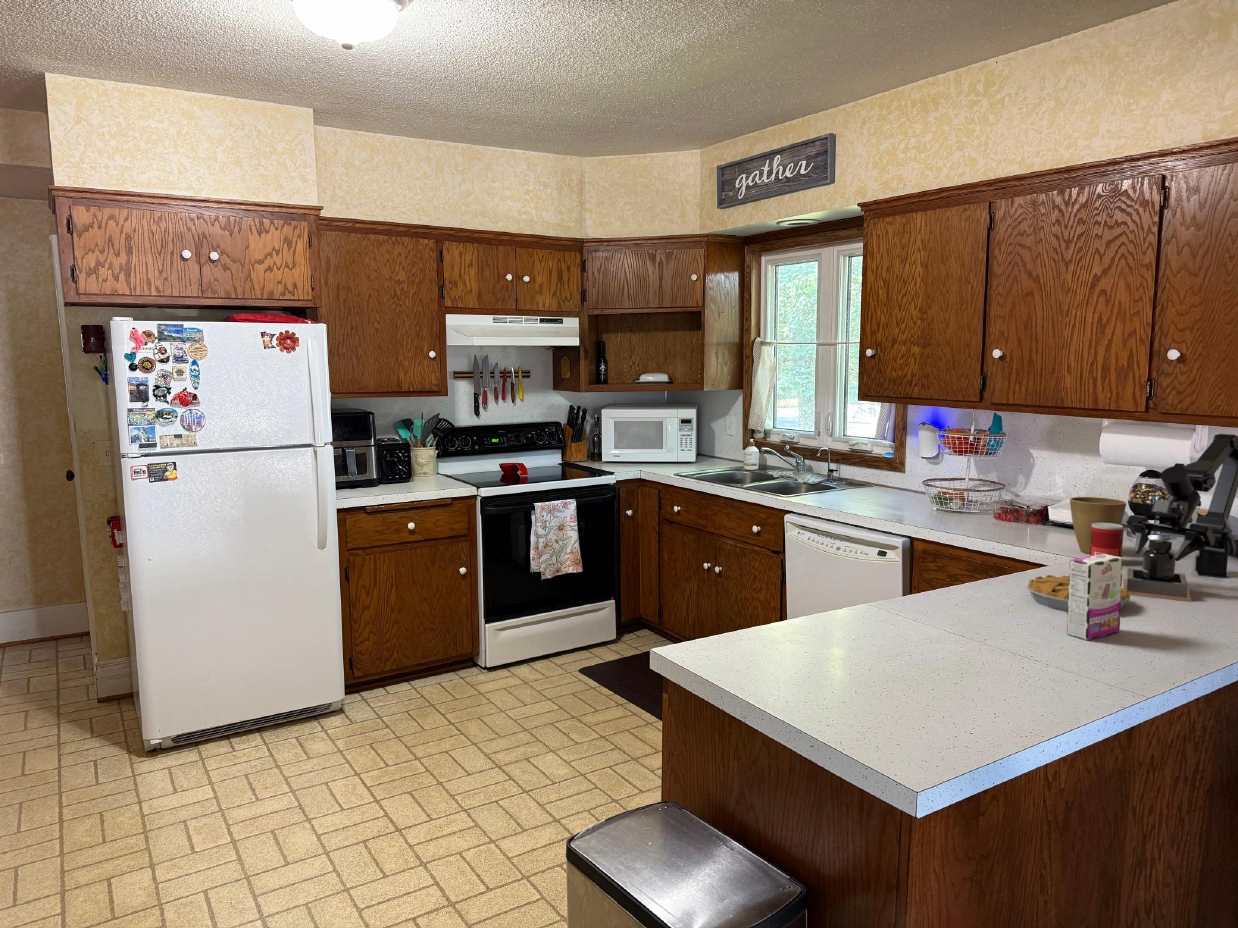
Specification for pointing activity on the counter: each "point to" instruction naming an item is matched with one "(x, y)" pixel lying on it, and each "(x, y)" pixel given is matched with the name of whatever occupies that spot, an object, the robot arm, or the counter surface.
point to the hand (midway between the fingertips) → (1155, 556)
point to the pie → (1058, 592)
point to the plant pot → (1093, 516)
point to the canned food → (1106, 539)
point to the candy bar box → (1094, 596)
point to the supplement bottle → (1159, 561)
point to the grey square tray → (1157, 586)
